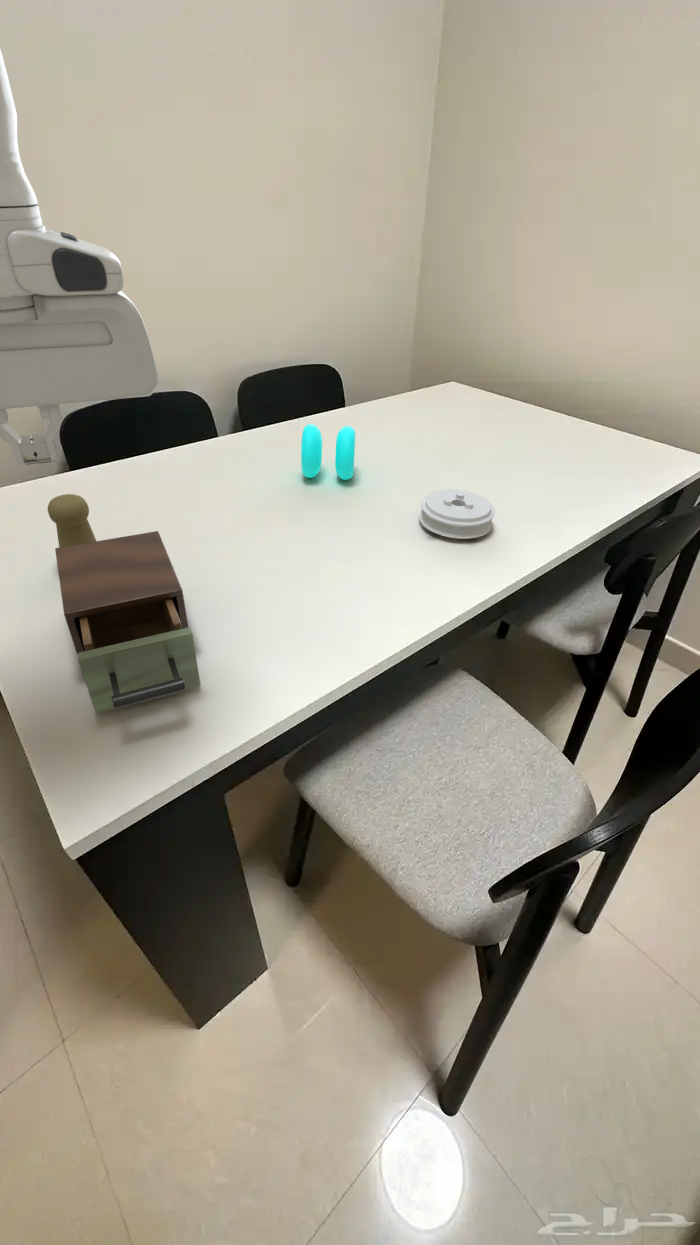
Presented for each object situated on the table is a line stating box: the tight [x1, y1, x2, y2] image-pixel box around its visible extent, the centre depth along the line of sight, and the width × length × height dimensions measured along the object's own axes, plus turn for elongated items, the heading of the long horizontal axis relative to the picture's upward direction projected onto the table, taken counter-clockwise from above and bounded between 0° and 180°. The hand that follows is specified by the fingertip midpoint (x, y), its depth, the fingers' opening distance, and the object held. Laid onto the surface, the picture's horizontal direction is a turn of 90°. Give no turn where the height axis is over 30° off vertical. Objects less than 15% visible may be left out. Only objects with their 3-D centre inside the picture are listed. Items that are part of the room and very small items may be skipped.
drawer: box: [76, 598, 201, 714], centre depth 65 cm, size 18×11×8 cm, turn 25°
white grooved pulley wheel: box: [419, 488, 496, 540], centre depth 100 cm, size 13×13×5 cm
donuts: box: [300, 423, 356, 481], centre depth 112 cm, size 10×10×10 cm
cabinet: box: [54, 530, 189, 654], centre depth 73 cm, size 15×13×10 cm
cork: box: [47, 493, 97, 548], centre depth 83 cm, size 6×6×11 cm
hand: (38, 461), depth 46 cm, fingers closed
